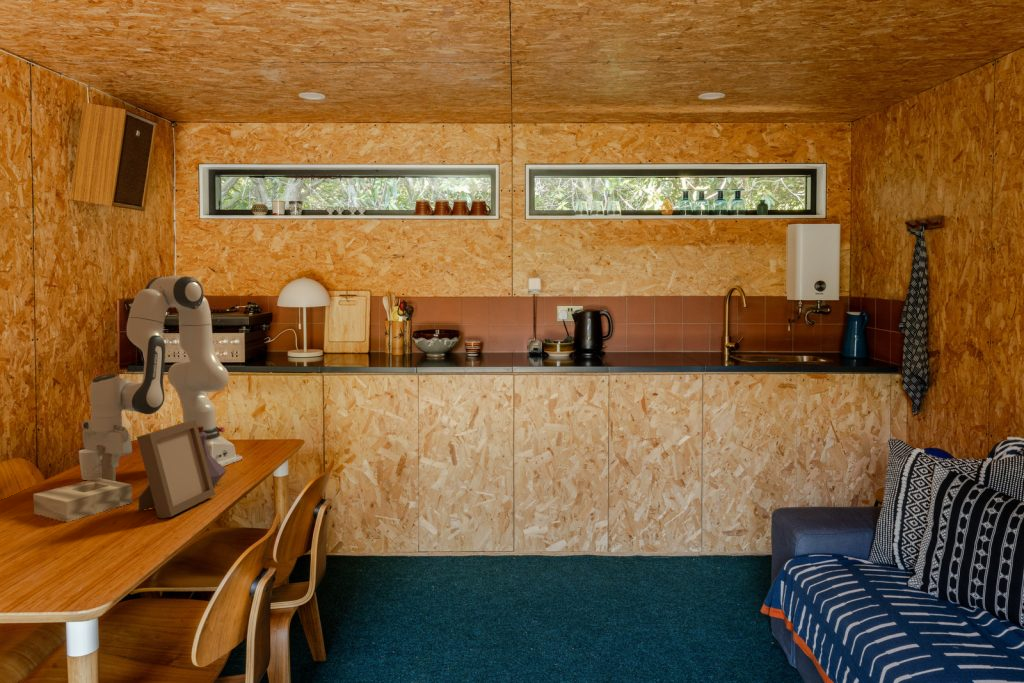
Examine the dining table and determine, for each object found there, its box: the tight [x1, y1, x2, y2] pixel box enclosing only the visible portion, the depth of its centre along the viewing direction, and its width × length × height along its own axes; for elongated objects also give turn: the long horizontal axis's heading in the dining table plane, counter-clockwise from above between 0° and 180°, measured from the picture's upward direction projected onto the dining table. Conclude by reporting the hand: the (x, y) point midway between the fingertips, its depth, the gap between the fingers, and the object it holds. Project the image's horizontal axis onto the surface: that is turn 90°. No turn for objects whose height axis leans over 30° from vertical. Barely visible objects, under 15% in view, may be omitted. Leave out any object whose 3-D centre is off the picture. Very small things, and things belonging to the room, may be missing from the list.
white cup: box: [78, 448, 102, 481], centre depth 252 cm, size 8×8×10 cm
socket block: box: [32, 478, 133, 523], centre depth 219 cm, size 20×16×6 cm
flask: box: [198, 426, 228, 487], centre depth 244 cm, size 16×16×20 cm
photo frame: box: [136, 420, 216, 519], centre depth 220 cm, size 15×22×25 cm
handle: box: [96, 445, 117, 482], centre depth 238 cm, size 5×6×15 cm
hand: (108, 465), depth 238 cm, fingers closed on handle, 5 cm apart
